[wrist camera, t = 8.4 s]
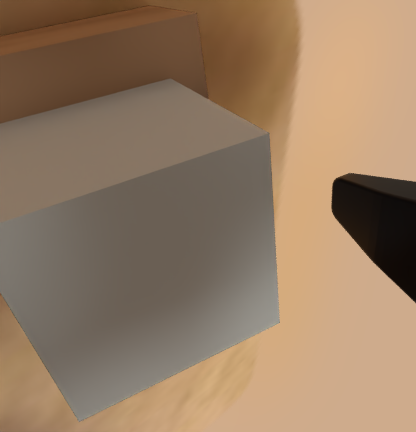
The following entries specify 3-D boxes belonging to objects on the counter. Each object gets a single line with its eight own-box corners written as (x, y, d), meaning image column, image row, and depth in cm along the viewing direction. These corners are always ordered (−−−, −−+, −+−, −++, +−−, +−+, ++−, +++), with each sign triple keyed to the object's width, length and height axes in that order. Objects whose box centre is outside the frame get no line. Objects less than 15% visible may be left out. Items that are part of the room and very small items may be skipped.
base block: (188, 202, 18) (229, 249, 15) (30, 260, 16) (38, 327, 13) (149, 5, 13) (196, 12, 10) (-77, 51, 11) (-104, 78, 8)
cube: (198, 224, 14) (279, 322, 10) (52, 281, 12) (79, 422, 8) (170, 78, 11) (269, 133, 7) (-23, 129, 9) (-36, 234, 6)
